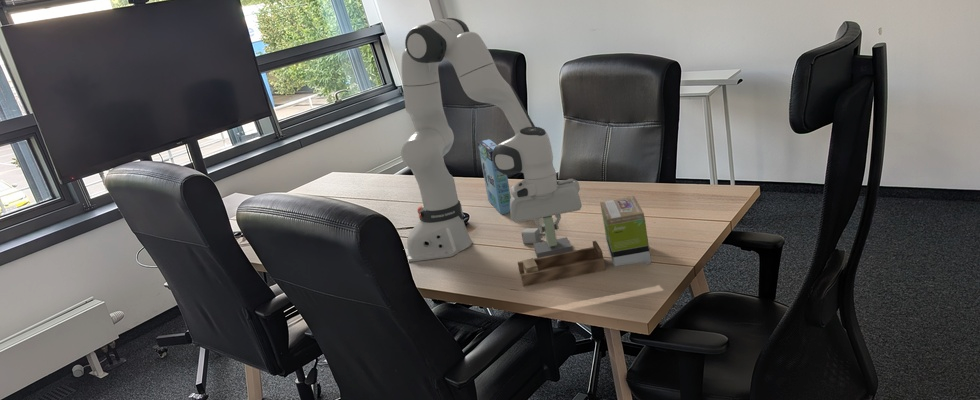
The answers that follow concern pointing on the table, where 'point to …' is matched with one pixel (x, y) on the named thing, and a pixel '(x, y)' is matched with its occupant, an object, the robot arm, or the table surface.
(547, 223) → the tall board
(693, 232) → the table surface
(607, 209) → the tea box
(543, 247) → the riser
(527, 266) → the offcut top
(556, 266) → the rack
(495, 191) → the blue cardboard box
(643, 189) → the table surface
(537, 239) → the usb wall charger
